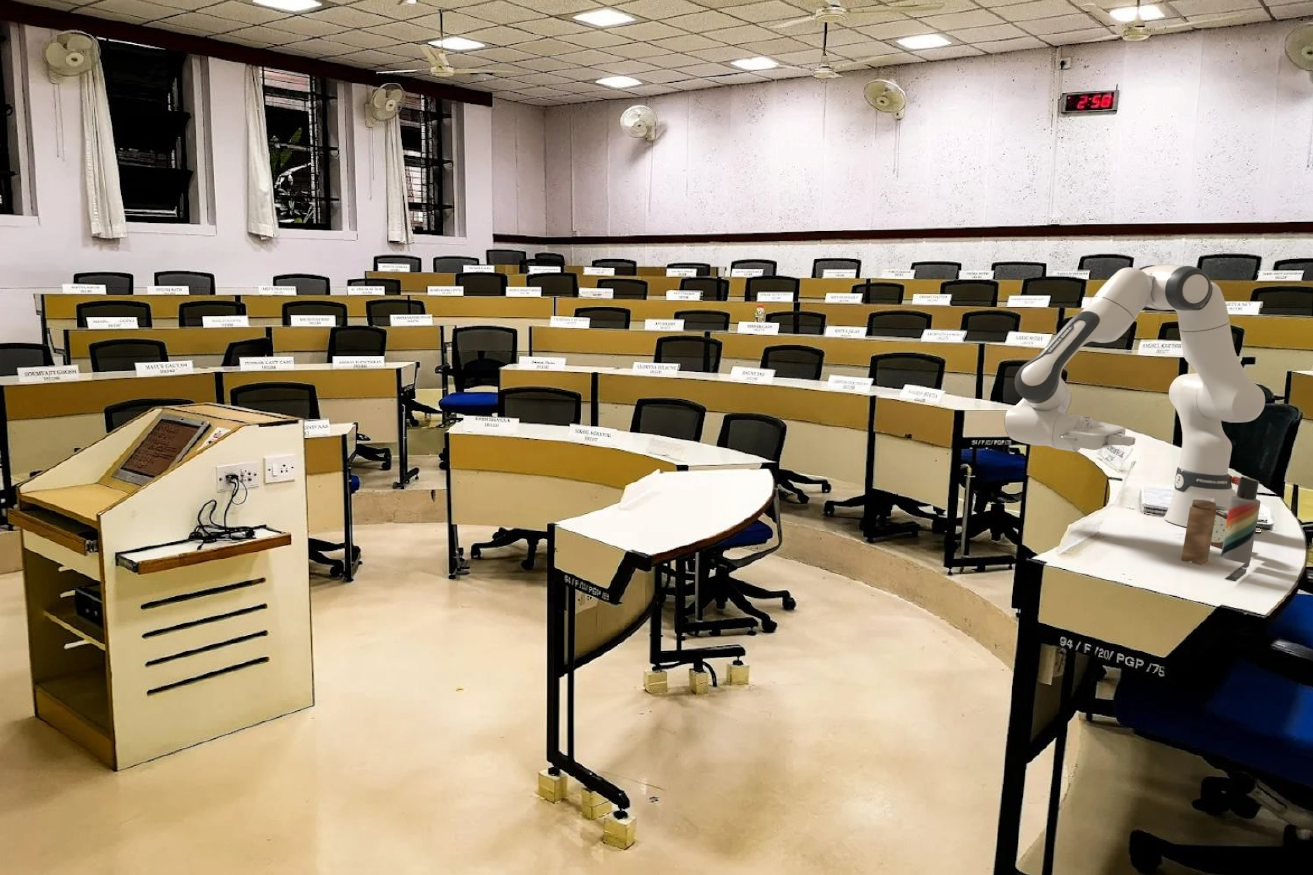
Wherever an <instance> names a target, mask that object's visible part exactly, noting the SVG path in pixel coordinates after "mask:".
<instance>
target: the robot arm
mask: <svg viewBox="0 0 1313 875" xmlns="http://www.w3.org/2000/svg"><path fill="white" fill-rule="evenodd" d="M1144 308H1151V309H1154V310H1159V311H1168V310H1170V311H1171V310H1172V311H1173V310H1174V311H1175V312H1176V314H1177V321H1178V329H1179V335H1180V342H1181V343H1180V344H1181V349H1182V354H1183V358H1184V359H1185V361H1186V362H1187V363H1188V364H1189V366H1191V367H1192V369H1194V370H1195V373H1194V372H1193V373H1185V374H1181V375H1179V376H1177V377H1176V378H1175V379H1173V381H1172V383H1171V384H1170V386H1169V390H1168V398H1169V400H1170V404H1172V406H1173V407H1174V408H1175V410H1176V413H1177V415H1178V417H1179V421H1180V425H1181V432H1182V434H1181V435H1182V444H1181V450H1180V459H1179V466H1178V467H1177V468H1176V472H1175V476H1174V491H1173V494H1172V498H1171V499H1170V504H1169V506H1168V508H1167V511H1166V513H1165V514H1164V516H1163V519H1164V520H1165V521H1166V522H1169V523H1171V524H1174V525H1177V526H1180V527H1186V528H1187V522H1188V516H1189V510H1190V507H1191V506H1192V502H1193V500H1206V501H1211V502H1214V503H1216V505H1217V506H1222V507H1227V508H1229V505H1230V500H1231V497H1232V496H1237V491H1235V489H1233V484H1234V485H1235V486H1238V482H1239V478H1240V477H1239V476H1235V475H1234V476H1232V475H1231V474H1229V468H1230V461H1231V456H1232V455H1231V454H1232V452H1233V451H1232V450H1233V445H1232V442H1231V440H1230V439H1229V438H1228V436H1227V435H1226V433H1225V432H1224V430H1223V429H1224V428H1223V426H1222V422H1227V423H1248V422H1251V421H1255V420H1256V419H1257V418H1259V416H1260V415H1261V413H1262V412H1263V411H1264V409H1265V405H1266V404H1265V403H1266V396H1265V393H1264V390H1262V388H1261V387H1260V386H1258V385H1257V384H1256V383H1255V382H1254V381H1253V380H1252V379H1251V378H1250V376H1249V375H1248V374H1247V372H1246V370H1245V369H1244V367H1243V365H1242V364H1241V362H1240V359H1239V358H1238V355H1237V353H1236V350H1235V349H1236V348H1235V345H1234V340H1233V334H1232V328H1231V322H1230V317H1229V316H1230V315H1229V311H1228V310H1229V309H1228V307H1227V303H1226V300H1225V297H1224V294H1223V292H1222V290H1221V288H1220V286H1219V285H1218V284H1217V283H1215V282H1213V281H1211V279H1210V277H1209V276H1208V274H1207V273H1206V272H1205V271H1204V270H1202V269H1200V268H1199V267H1196V266H1193V265H1180V264H1173V263H1172V264H1169V263H1168V264H1162V265H1154V264H1150V265H1146V266H1142V267H1140V268H1136V267H1129V266H1128V267H1123V268H1121V269H1119V270H1117V271H1116V272H1115V273H1114V274H1113V275H1112V276H1111V277H1110V278H1109V279H1108V280H1106V282H1104V284H1103V285H1102V286H1101V287H1100V288H1099V290H1098V291H1097V292H1096V293H1095V294H1094V296H1093V297H1092V299H1090V301H1089V302H1088V304H1087V305H1086V306H1085V307H1084V308H1083V309H1082V310H1081V311H1080V312H1078V313H1077V314H1076V315H1074V316H1073V317H1072V318H1071V319H1069V321H1068V322H1067V323H1066V324H1065V325H1064V326H1063V327H1062V328H1061V329H1060V331H1059V332H1058V333H1057V334H1056V335H1055V336H1054V337H1053V338H1052V339H1051V341H1049V343H1048V344H1047V345H1046V346H1045V347H1044V348H1043V349H1042V350H1041V351H1040V352H1039V353H1038V354H1037V355H1035V357H1033V358H1032V359H1030V360H1029V361H1027V362H1025V363H1024V364H1023V365H1021V366H1020V368H1019V369H1018V370H1017V372H1016V373H1015V377H1014V387H1015V388H1014V389H1015V390H1016V393H1017V394H1018V395H1019V396H1020V397H1022V399H1020V401H1019V402H1018V403H1016V405H1014V406H1013V407H1011V408H1008V409H1007V410H1006V412H1005V415H1004V423H1003V424H1004V430H1005V432H1006V435H1007V436H1008V437H1009V439H1011V440H1013V441H1015V442H1019V443H1023V444H1026V445H1032V446H1038V447H1042V446H1048V447H1050V448H1053V449H1055V450H1062V451H1067V452H1068V451H1069V452H1073V453H1074V452H1075V453H1077V452H1079V451H1080V449H1086V450H1092V451H1097V450H1101V449H1104V448H1107V447H1111V446H1125V447H1126V446H1127V447H1130V446H1131V447H1132V446H1133V445H1135V444H1136V437H1135V436H1129V435H1126V427H1123V426H1121V425H1117V424H1113V423H1108V422H1103V421H1098V420H1094V418H1093V417H1087V416H1083V415H1081V414H1072V413H1067V412H1068V410H1069V407H1070V405H1071V403H1072V392H1071V390H1070V388H1069V386H1068V385H1067V384H1066V382H1065V381H1064V379H1063V378H1062V372H1063V369H1064V368H1065V366H1067V364H1068V363H1069V362H1070V360H1072V358H1073V357H1074V356H1075V355H1076V354H1077V353H1078V351H1080V349H1081V348H1082V347H1083V346H1084V345H1086V344H1088V343H1090V342H1095V343H1101V344H1103V343H1104V344H1106V343H1112V342H1115V341H1117V340H1119V338H1121V337H1122V336H1123V335H1124V334H1125V333H1126V332H1127V330H1128V329H1130V327H1131V326H1132V324H1133V323H1134V321H1135V320H1136V319H1137V317H1138V316H1139V315H1140V314H1141V311H1142V310H1143V309H1144ZM1260 530H1262V531H1263V528H1262V529H1260V528H1256V531H1260Z"/></svg>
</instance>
